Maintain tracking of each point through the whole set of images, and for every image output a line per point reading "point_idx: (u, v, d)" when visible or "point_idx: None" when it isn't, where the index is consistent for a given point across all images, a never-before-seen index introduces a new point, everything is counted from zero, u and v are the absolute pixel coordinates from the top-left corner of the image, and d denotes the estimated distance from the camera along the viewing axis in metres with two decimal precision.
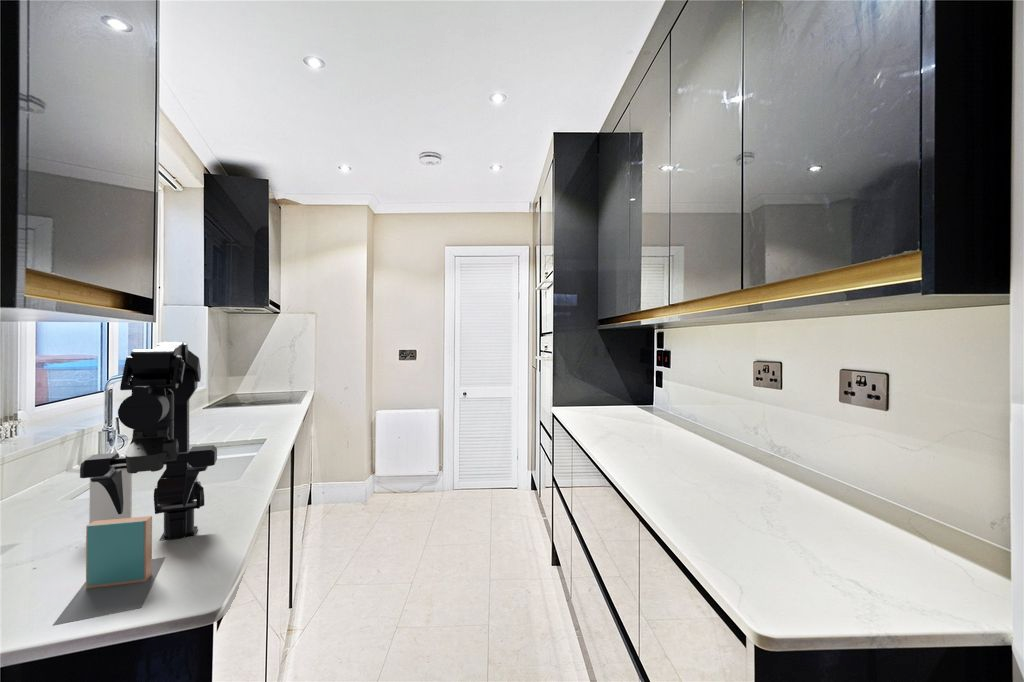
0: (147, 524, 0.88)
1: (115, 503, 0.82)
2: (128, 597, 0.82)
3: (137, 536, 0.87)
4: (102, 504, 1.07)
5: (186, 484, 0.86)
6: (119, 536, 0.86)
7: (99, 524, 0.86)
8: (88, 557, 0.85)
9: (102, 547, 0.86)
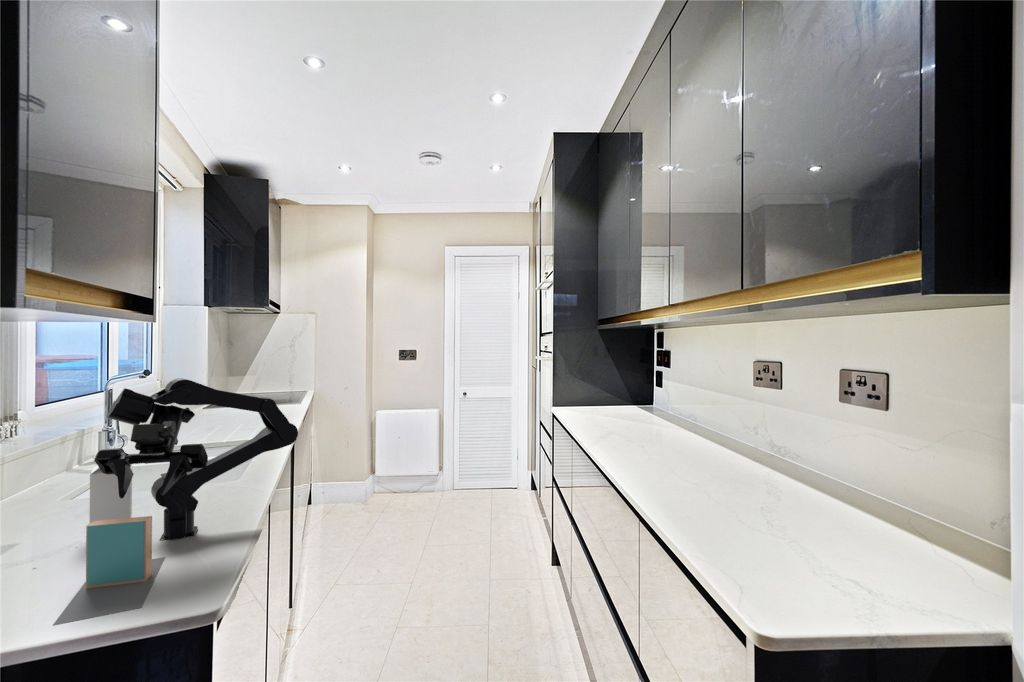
0: (147, 524, 0.88)
1: (119, 485, 0.96)
2: (128, 597, 0.82)
3: (137, 536, 0.87)
4: (103, 504, 1.07)
5: (168, 472, 0.99)
6: (119, 536, 0.86)
7: (99, 524, 0.86)
8: (88, 557, 0.85)
9: (102, 547, 0.86)
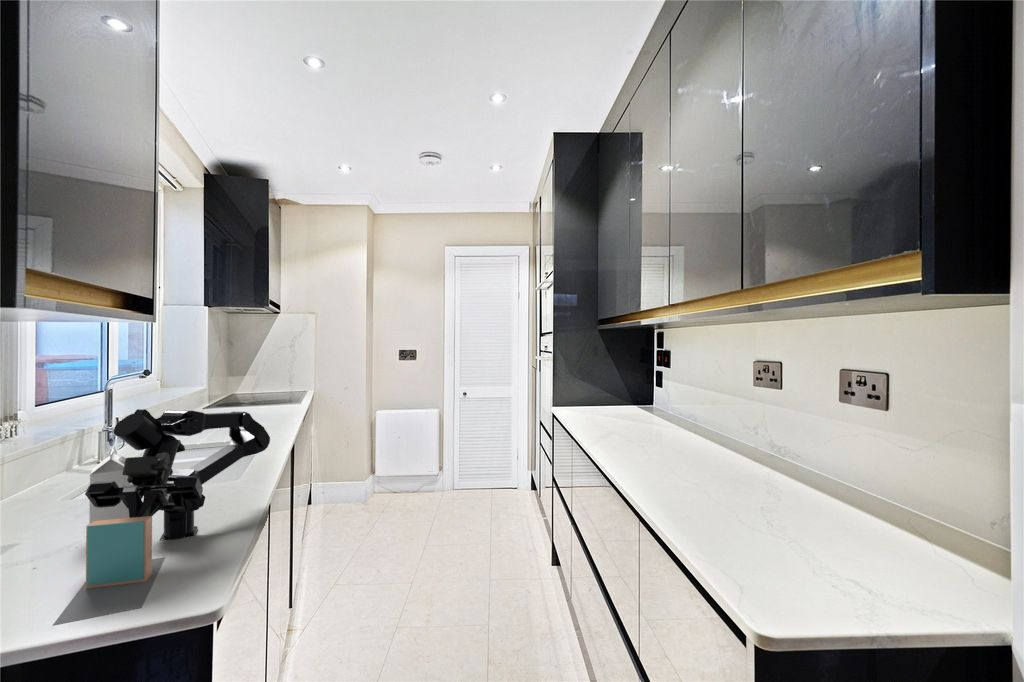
0: (147, 524, 0.88)
1: None
2: (128, 597, 0.82)
3: (137, 536, 0.87)
4: None
5: (141, 508, 0.95)
6: (119, 536, 0.86)
7: (99, 524, 0.86)
8: (88, 557, 0.85)
9: (102, 547, 0.86)
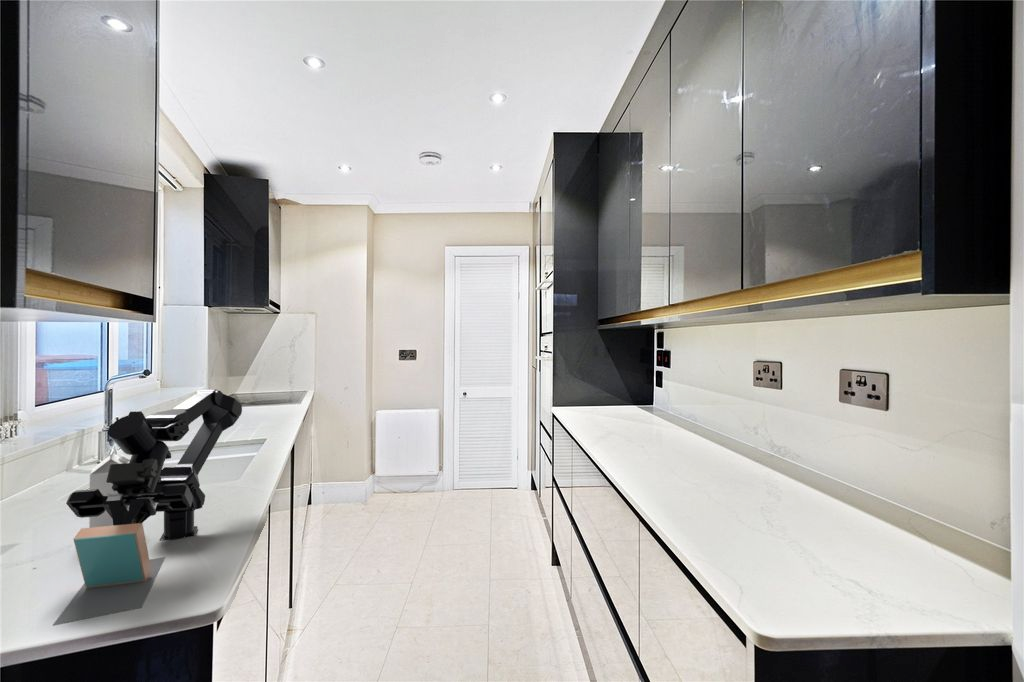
0: (138, 534, 0.85)
1: None
2: (128, 597, 0.82)
3: (129, 546, 0.84)
4: None
5: (126, 518, 0.89)
6: (110, 547, 0.83)
7: (87, 536, 0.82)
8: (82, 565, 0.83)
9: (95, 556, 0.83)
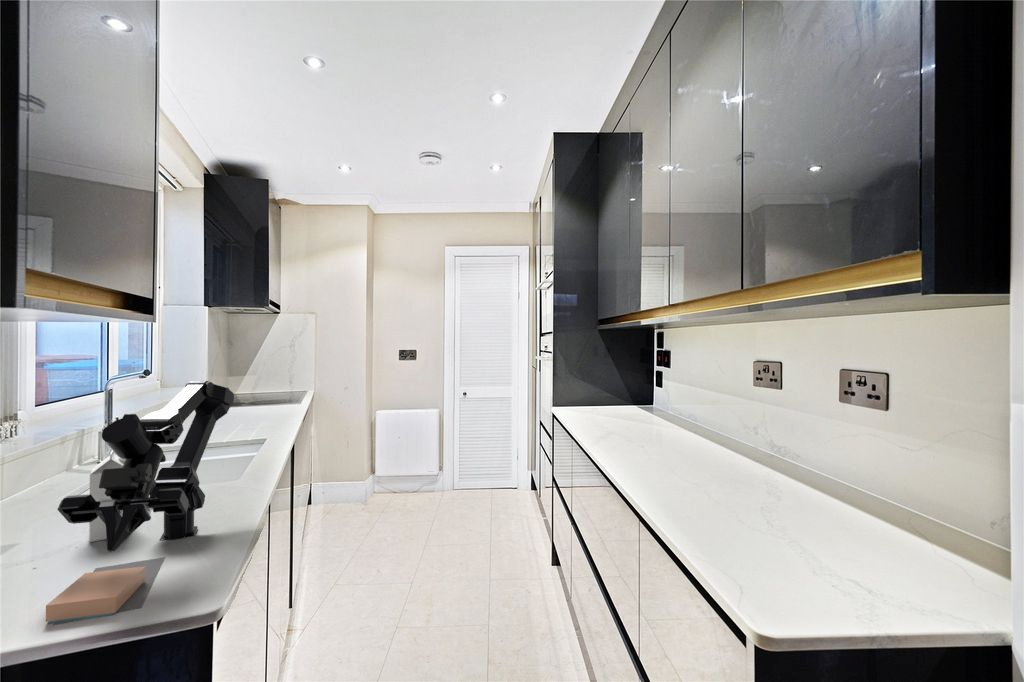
0: (118, 605, 0.78)
1: (108, 537, 0.85)
2: None
3: None
4: None
5: (120, 524, 0.87)
6: None
7: (60, 618, 0.75)
8: None
9: None
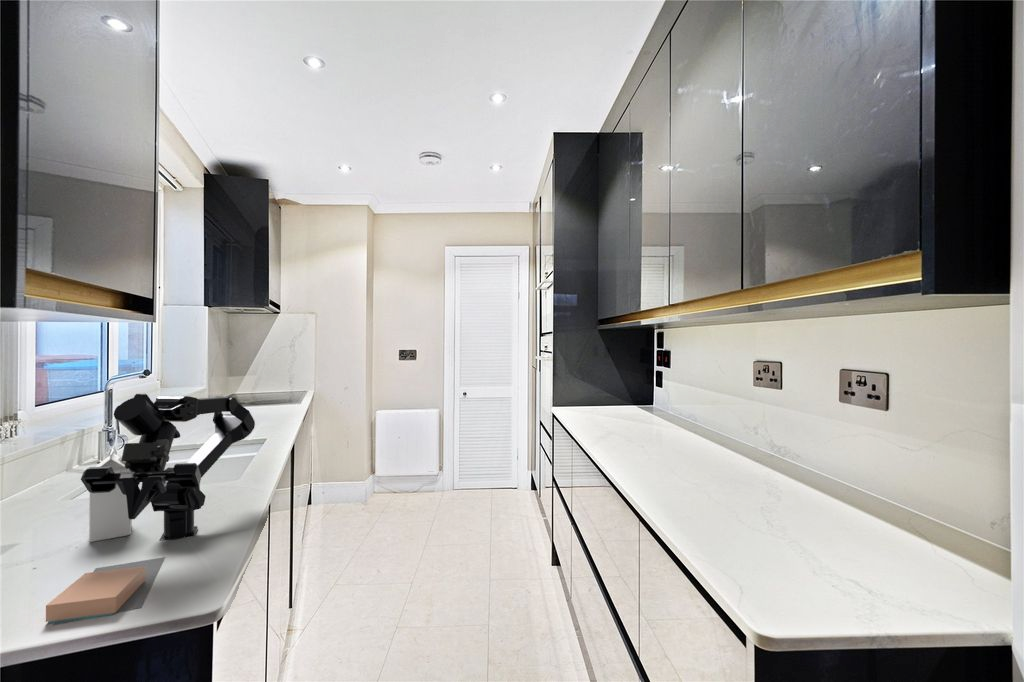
0: (118, 605, 0.78)
1: (129, 506, 0.92)
2: None
3: None
4: (103, 504, 1.07)
5: (139, 494, 0.93)
6: None
7: (60, 618, 0.75)
8: None
9: None
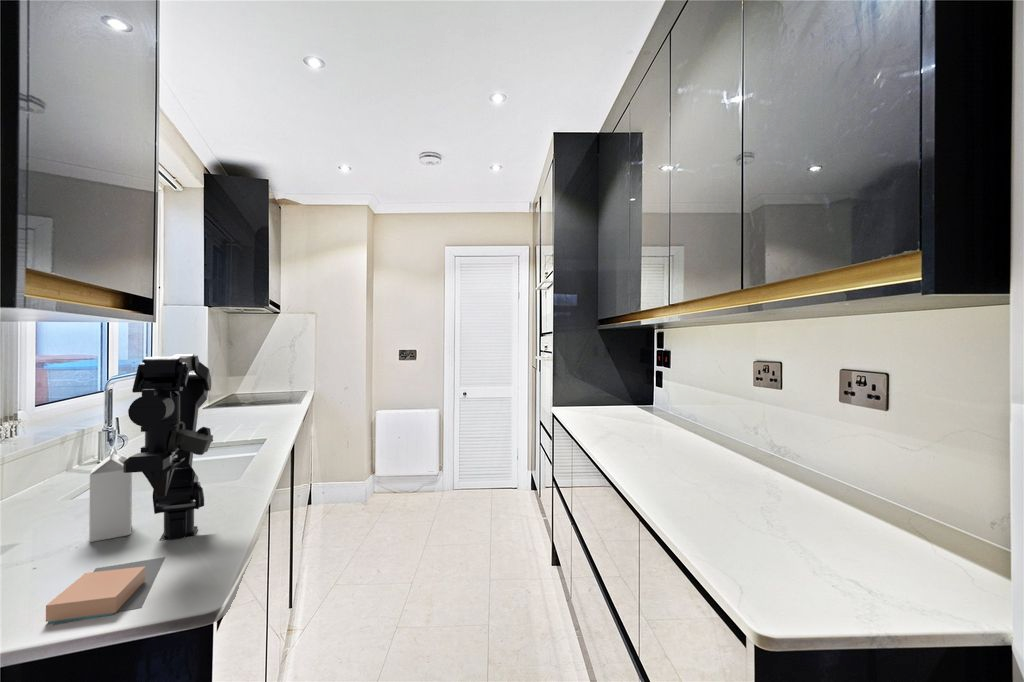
0: (118, 605, 0.78)
1: (166, 486, 0.97)
2: None
3: None
4: (103, 504, 1.07)
5: (170, 475, 0.98)
6: None
7: (60, 618, 0.75)
8: None
9: None
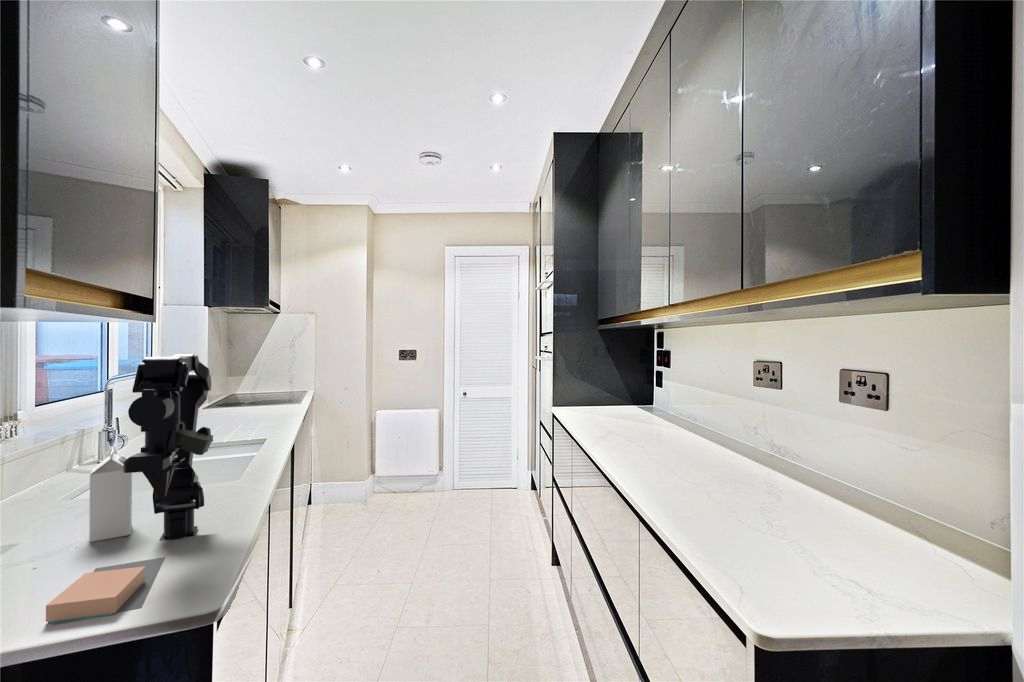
0: (118, 605, 0.78)
1: (166, 486, 0.97)
2: None
3: None
4: (103, 504, 1.07)
5: (170, 475, 0.98)
6: None
7: (60, 618, 0.75)
8: None
9: None
